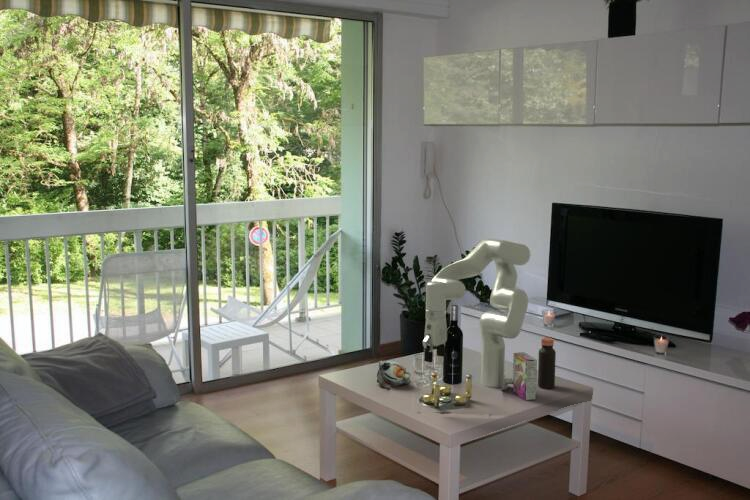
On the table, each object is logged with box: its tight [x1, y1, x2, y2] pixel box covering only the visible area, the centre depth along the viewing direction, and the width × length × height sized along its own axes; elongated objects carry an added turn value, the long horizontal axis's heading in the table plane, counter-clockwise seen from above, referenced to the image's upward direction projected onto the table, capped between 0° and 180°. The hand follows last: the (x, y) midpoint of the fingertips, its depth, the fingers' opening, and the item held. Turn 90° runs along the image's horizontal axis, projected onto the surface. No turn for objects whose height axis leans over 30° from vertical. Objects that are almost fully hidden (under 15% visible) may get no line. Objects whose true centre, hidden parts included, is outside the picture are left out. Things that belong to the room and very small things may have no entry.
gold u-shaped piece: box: [430, 372, 452, 396], centre depth 304 cm, size 9×4×10 cm, turn 128°
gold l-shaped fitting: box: [422, 381, 441, 406], centre depth 294 cm, size 9×4×10 cm, turn 24°
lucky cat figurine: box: [376, 360, 411, 390], centre depth 321 cm, size 15×12×14 cm
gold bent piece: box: [455, 373, 473, 405], centre depth 297 cm, size 9×4×10 cm, turn 144°
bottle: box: [537, 337, 557, 390], centre depth 320 cm, size 7×7×20 cm
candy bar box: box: [512, 351, 538, 401], centre depth 308 cm, size 11×5×16 cm, turn 17°
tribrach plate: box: [418, 392, 472, 415], centre depth 300 cm, size 20×20×3 cm
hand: (434, 358), depth 294 cm, fingers open, 9 cm apart
